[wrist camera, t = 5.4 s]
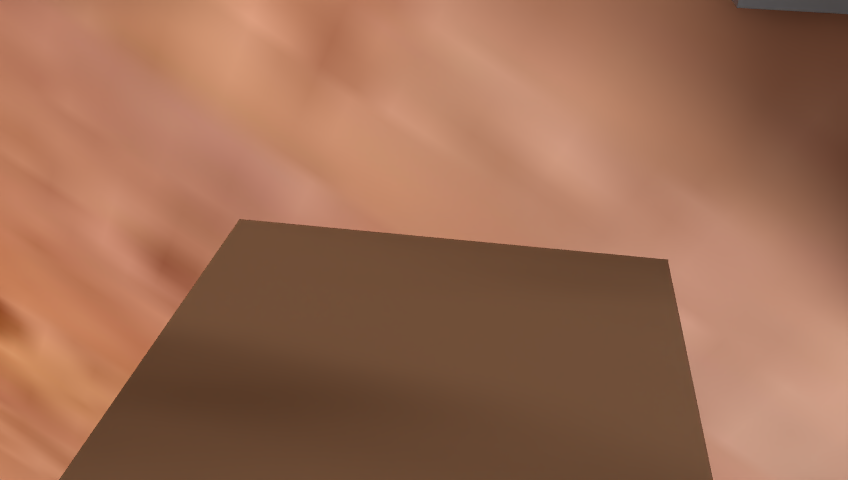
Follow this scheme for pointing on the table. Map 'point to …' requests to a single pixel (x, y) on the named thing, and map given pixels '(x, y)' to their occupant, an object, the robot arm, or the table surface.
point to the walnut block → (408, 367)
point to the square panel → (796, 5)
